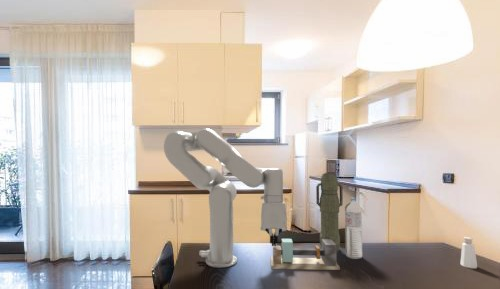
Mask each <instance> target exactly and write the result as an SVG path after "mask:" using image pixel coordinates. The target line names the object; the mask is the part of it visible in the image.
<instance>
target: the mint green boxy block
mask: <svg viewBox="0 0 500 289" xmlns="http://www.w3.org/2000/svg"><path fill="white" fill-rule="evenodd" d="M293 243H294V242H293V239H292V238H281V248H282V255H281V257H282V262H293V258H294V255H293V248H294V244H293Z"/></svg>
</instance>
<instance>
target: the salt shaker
mask: <svg viewBox="0 0 500 289" xmlns="http://www.w3.org/2000/svg"><path fill="white" fill-rule="evenodd" d="M477 262H478V261H477V255H476V249H475V245H474V244H473V238H472V237H469V236H463V242H462V244H461V252H460V264H459V265H460V266H462V267H464V268H468V269H477V268H478V263H477Z"/></svg>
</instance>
